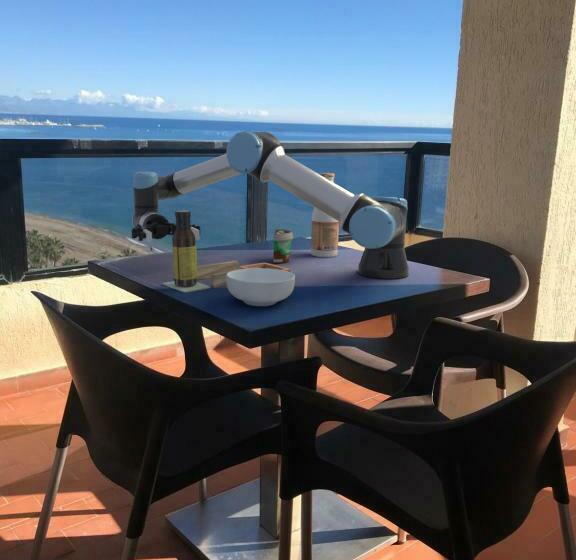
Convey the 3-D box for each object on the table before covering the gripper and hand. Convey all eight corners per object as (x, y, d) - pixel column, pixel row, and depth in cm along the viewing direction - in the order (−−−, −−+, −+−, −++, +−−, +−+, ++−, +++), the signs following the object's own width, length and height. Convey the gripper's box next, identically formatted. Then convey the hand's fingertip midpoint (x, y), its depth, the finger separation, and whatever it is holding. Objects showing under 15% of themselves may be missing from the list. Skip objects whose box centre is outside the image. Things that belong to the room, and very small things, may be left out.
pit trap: (290, 274, 178) (290, 269, 177) (264, 278, 171) (264, 273, 171) (264, 267, 186) (264, 262, 186) (239, 271, 180) (239, 266, 179)
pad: (210, 288, 159) (210, 286, 159) (184, 292, 154) (184, 291, 154) (187, 280, 167) (187, 278, 167) (162, 284, 162) (162, 283, 162)
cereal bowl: (308, 304, 147) (309, 276, 145) (255, 316, 136) (255, 285, 134) (264, 290, 159) (265, 264, 157) (212, 300, 148) (212, 272, 147)
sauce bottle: (202, 283, 162) (201, 210, 157) (188, 288, 156) (187, 212, 152) (182, 281, 165) (180, 208, 160) (168, 285, 159) (166, 211, 154)
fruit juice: (305, 255, 206) (308, 173, 200) (318, 251, 214) (321, 172, 208) (329, 258, 202) (333, 174, 195) (342, 254, 209) (346, 173, 203)
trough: (260, 279, 170) (260, 267, 169) (214, 287, 160) (214, 275, 159) (235, 272, 179) (235, 260, 178) (189, 279, 168) (189, 267, 167)
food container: (292, 265, 189) (293, 234, 187) (273, 265, 189) (273, 234, 187) (292, 258, 201) (293, 228, 199) (274, 257, 201) (275, 228, 199)
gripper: (193, 235, 191) (217, 246, 173) (113, 239, 180) (130, 252, 162) (193, 212, 189) (217, 221, 171) (112, 214, 178) (129, 224, 160)
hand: (174, 236), depth 166 cm, fingers open, 13 cm apart
